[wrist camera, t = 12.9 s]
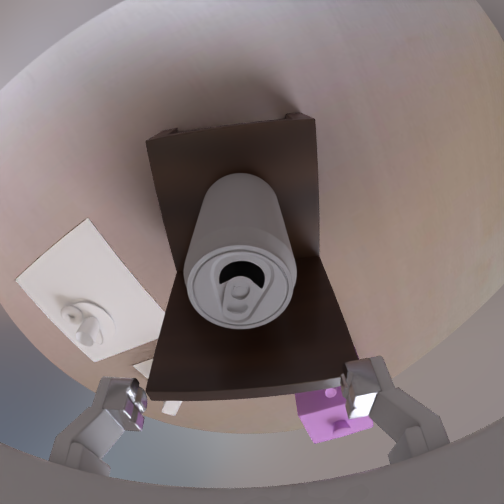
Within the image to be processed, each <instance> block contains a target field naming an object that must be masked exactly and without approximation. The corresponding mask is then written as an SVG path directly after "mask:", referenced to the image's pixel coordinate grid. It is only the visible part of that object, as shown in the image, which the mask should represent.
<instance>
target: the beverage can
mask: <svg viewBox="0 0 504 504" xmlns="http://www.w3.org/2000/svg"><path fill="white" fill-rule="evenodd" d="M296 277H297V269H296V263H295V259H294V256H293V252H292V249H291V245H290V241H289V238H288V234H287V231H286V227H285V224H284V220H283V217H282V213H281V210H280V207H279V203H278V200H277V197H276V194H275V192H274V191H273V189H272V188H271V187H270V185H269V184H268V183H266V182H265V181H264V180H262V179H261V178H259V177H257V176H254V175H251V174H247V173H235V174H230V175H227V176H224V177H222V178H220V179H219V180H217V181H216V182H215V183H214V184H213V185H212V186H211V187H210V188H209V189H208V191H207V193H206V195H205V197H204V200H203V203H202V207H201V210H200V213H199V216H198V219H197V223H196V226H195V229H194V233H193V236H192V239H191V243H190V246H189V250H188V253H187V257H186V260H185V264H184V280H185V284H186V287H187V292H188V297H189V299H190V302H191V304H192V305H193V307H194V308H195V310H196V311H197V312H198V313H199V314H200V315H201V316H202V317H204V318H205V319H207V320H208V321H210V322H212V323H214V324H216V325H219V326H222V327H225V328H231V329H250V328H255V327H259V326H262V325H264V324H267V323H269V322H271V321H272V320H274V319H275V318H277V317H278V316H279V315H280V314H281V313H282V312H283V311H284V310H285V309H286V307H287V306H288V304H289V302H290V300H291V298H292V294H293V288H294V286H295V283H296Z"/></svg>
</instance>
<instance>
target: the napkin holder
mask: <svg viewBox="0 0 504 504" xmlns="http://www.w3.org/2000/svg"><path fill="white" fill-rule="evenodd" d="M152 361H153V359H150V360H147V361H144V362H141V363H138V364H135V365H132V366H134V367H135V368H136V369H137V370H138V371H139V372H140V373H142V374H143V375H144V376H145V377H146V378H149V374H150V370H151V366H152ZM181 403H182V401H164V402H163V407H162V413H166V414H170V415H174V416H175V415H176V413H177V411H178V409H179V407H180V405H181Z"/></svg>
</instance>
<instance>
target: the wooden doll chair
mask: <svg viewBox="0 0 504 504" xmlns="http://www.w3.org/2000/svg"><path fill="white" fill-rule="evenodd" d="M146 147H147V152H148V157H149V162H150V166H151V171H152V175H153V180H154V184H155V189H156V193H157V197H158V202H159V206H160V210H161V214H162V218H163V222H164V226H165V230H166V234H167V237H168V241H169V245H170V249H171V252H172V256H173V260H174V263H175V267H176V270H177V274H176V277H175V280H174V284H173V287H172V291H171V294H170V298H169V301H168V305H167V308H166V312H165V315H164V319H163V323H162V327H161V330H160V334H159V338H158V342H157V346H156V350H155V353H154V357H153V361H152V366H151V370H150V374H149V378H148V382H147V387H146V393H147V395H148V396H149V398H150V399H151V400H152V401H208V400H230V399H246V398H258V397H269V396H278V395H287V394H295V393H302V392H310V391H316V390H323V389H329V388H334V387H340V386H341V384H340V379H341V375H342V374H343V373H344V372H343V369H342V367H343V364H344V363H345V362H350V361H355V360H359V359H358V356H357V353H356V350H355V348H354V345H353V342H352V339H351V336H350V334H349V331H348V328H347V326H346V323H345V320H344V318H343V315H342V312H341V310H340V307H339V304H338V302H337V299H336V297H335V294H334V292H333V289H332V286H331V284H330V281H329V279H328V276H327V274H326V271H325V269H324V267H323V264H322V262H321V259H320V257H319V187H318V161H317V142H316V125H315V119H314V118H312V117H310V116H307V115H305V114H303V113H290V114H286V119H279V120H268V121H257V122H248V123H239V124H231V125H224V126H217V127H210V128H204V129H197V130H191V131H186V132H180V133H178V129H177V128H174V129H169V130H164V131H161V132H160V133H158V134H156V135H154V136H153V137H151V138H149V139H148V140H146ZM235 173H247V174H251V175H254V176H257V177H259V178H261V179H262V180H264V181H265V182H266V183H268V184H269V185H270V187H271V188H272V189H273V191H274V192H275V194H276V197H277V200H278V203H279V207H280V210H281V213H282V217H283V220H284V224H285V227H286V231H287V234H288V238H289V241H290V245H291V249H292V252H293V256H294V259H295V263H296V269H297V277H296V283H295V286H294V288H293V294H292V298H291V300H290V302H289V304H288V306H287V307H286V309H285V310H284V311H283V312H282V313H281V314H280V315H279V316H278V317H277V318H275V319H274V320H272V321H271V322H269V323H267V324H264V325H262V326H259V327H255V328H250V329H231V328H225V327H222V326H219V325H216V324H214V323H212V322H210V321H208V320H207V319H205V318H204V317H202V316H201V315H200V314H199V313H198V312H197V311H196V310H195V308H194V307H193V305H192V304H191V302H190V299H189V297H188V292H187V287H186V284H185V280H184V264H185V260H186V257H187V253H188V250H189V246H190V243H191V239H192V236H193V233H194V229H195V226H196V223H197V219H198V216H199V213H200V210H201V207H202V203H203V200H204V197H205V195H206V193H207V191H208V189H209V188H210V187H211V186H212V185H213V184H214V183H215V182H216V181H217V180H219V179H220V178H222V177H224V176H227V175H230V174H235Z"/></svg>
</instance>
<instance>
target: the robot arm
mask: <svg viewBox="0 0 504 504" xmlns="http://www.w3.org/2000/svg"><path fill="white" fill-rule="evenodd" d="M342 369H343V372H344V373H343V374H342V375H341V379H340V384H341V392H342V396H343V397H344V398H345V399H347V400H346V404H345V407H346V411H347V415H348V419H354V418H359V417H364V416H369V417H370V418H371V419H372V420H373V421H374V422H375V423H376V424H377V425H378V426H379V427H380V428H382V430H384V431H385V432H386V433H387V434H388V435H389V436H390V437H391V438H392V439H393V440H394V441H395V442H396V445H395V446H394V447H393V449H392V450H391V451H390V453H389V454H388V457H389V461H390V465H386V466H383V467H380V468H376V469H372V470H368V471H364V472H360V473H355V474H351V475H346V476H341V477H336V478H331V479H326V480H319V481H313V482H306V483H298V484H290V485H281V486H270V487H269V486H268V487H252V488H195V487H179V486H167V485H158V484H149V483H142V482H135V481H128V480H123V479H118V478H112V477H109V474H110V466H109V465H108V464H106V463H105V462H103V461H102V460H101V459H102V458H103V457H104V456H105V455H106V453H107V452H108V451H109V450H110V448H111V447H112V446H113V445H114V443H115V442H116V441H117V440H118V438H119V437H120V436H121V435H122V434H123V432H124V430H128V431H142V428H143V423H144V417H143V415H142V413H143V412H144V411H145V410H146V408H147V396H146V392H145V391H144V389H142V388H141V387H139V382H138V380H137V379H136V378H120V377H105V376H103V377H102V378H101V380H100V383H99V386H98V389H97V392H96V395H95V398H94V401H93V404H92V407H88V408H87V409H86V410H85V411H84V412H83V413H82V414H80V415H79V416H78V417H77V418H76V419H75V420H74V421H73V422H72V423H71V424H70V425H68V426H67V427H66V428H65V429H64V430H63V431H62V432H61V433H60V434H59V435H57V436H56V438H55V441H54V444H53V448H52V451H51V454H50V458H49V461H47V460H44V459H41V458H38V457H36V456H33V455H30V454H27V453H25V452H22V451H20V450H17V449H15V448H12V447H10V446H8V445H5V444H3V443H1V442H0V504H504V417H502V418H501V419H499V420H497V421H495V422H493V423H492V424H490V425H488V426H486V427H484V428H482V429H480V430H478V431H476V432H474V433H472V434H469V435H467V436H465V437H463V438H461V439H458V440H456V441H454V442H451V443H450V441H449V439H448V436H447V434H446V431H445V429H444V426H443V423H442V421H441V418H440V416H438V415H437V414H435V413H434V412H432V411H431V410H430V409H428V408H427V407H425V406H424V405H423V404H421V403H420V402H418V401H417V400H415V399H414V398H413V397H411V396H410V395H408V394H407V393H406V392H404V391H403V390H401V389H400V388H395V387H394V384H393V382H392V379H391V377H390V374H389V372H388V369H387V367H386V364H385V362H384V359H383V357H382V356H376V357H371V358H365V359H360V360H355V361H350V362H345V363H344V364H343V367H342Z"/></svg>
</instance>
